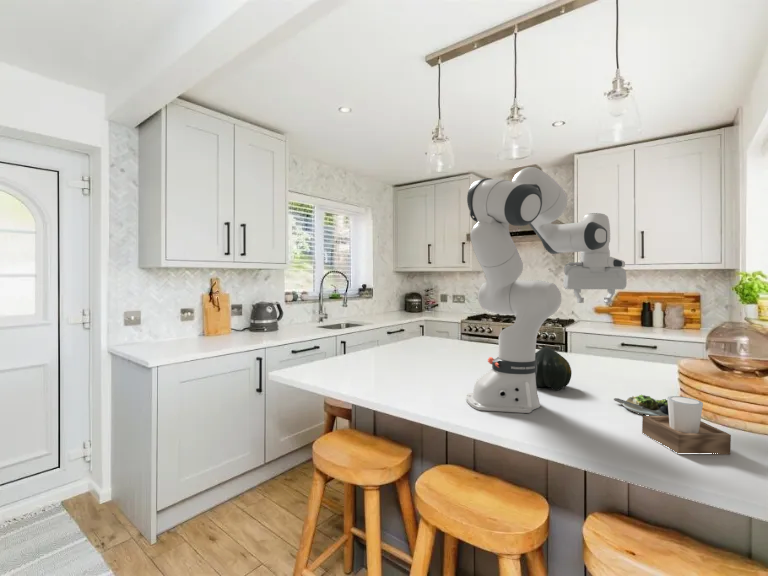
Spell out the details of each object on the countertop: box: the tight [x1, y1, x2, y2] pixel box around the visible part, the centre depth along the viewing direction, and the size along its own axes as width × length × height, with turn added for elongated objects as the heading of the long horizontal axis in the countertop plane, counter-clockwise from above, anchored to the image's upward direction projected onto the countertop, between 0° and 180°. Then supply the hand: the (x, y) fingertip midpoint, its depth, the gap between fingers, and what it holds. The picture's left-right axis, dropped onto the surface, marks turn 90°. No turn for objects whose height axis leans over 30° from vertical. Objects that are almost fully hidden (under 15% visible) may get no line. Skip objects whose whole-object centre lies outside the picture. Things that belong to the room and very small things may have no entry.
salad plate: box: [613, 394, 669, 416], centre depth 118 cm, size 19×18×5 cm
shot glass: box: [666, 395, 704, 433], centre depth 94 cm, size 7×7×7 cm
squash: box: [535, 345, 572, 391], centre depth 142 cm, size 14×15×15 cm
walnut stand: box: [641, 415, 732, 455], centre depth 95 cm, size 12×12×4 cm
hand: (594, 302), depth 133 cm, fingers open, 8 cm apart
